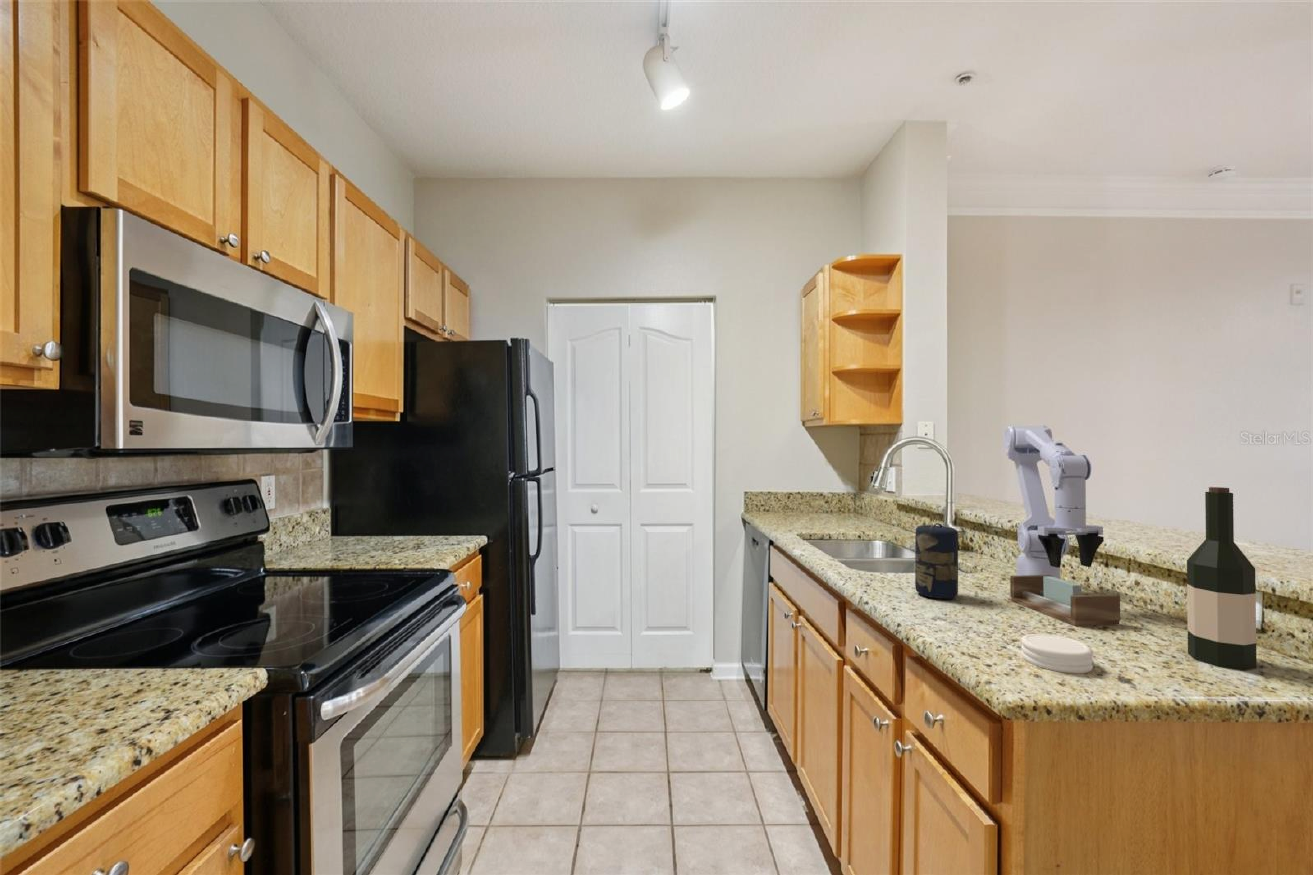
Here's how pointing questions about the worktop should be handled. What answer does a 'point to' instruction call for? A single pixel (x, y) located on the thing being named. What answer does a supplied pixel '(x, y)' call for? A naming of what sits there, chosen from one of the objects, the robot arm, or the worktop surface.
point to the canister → (936, 561)
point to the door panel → (1060, 590)
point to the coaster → (1057, 653)
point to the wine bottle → (1221, 592)
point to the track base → (1079, 614)
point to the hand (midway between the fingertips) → (1070, 566)
